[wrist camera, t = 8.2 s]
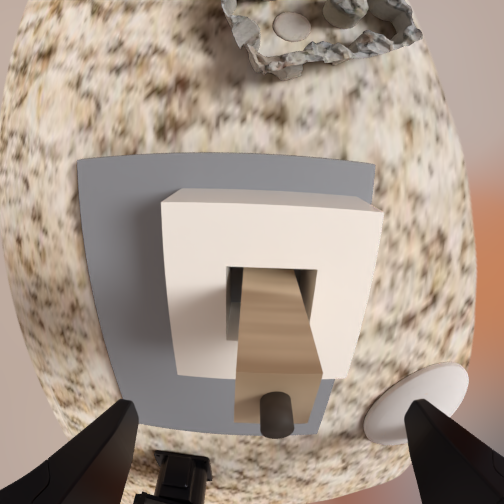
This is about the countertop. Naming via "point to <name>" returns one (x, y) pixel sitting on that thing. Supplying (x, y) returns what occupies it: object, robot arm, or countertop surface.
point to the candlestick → (412, 388)
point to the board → (153, 270)
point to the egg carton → (298, 28)
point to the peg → (274, 354)
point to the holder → (265, 256)
